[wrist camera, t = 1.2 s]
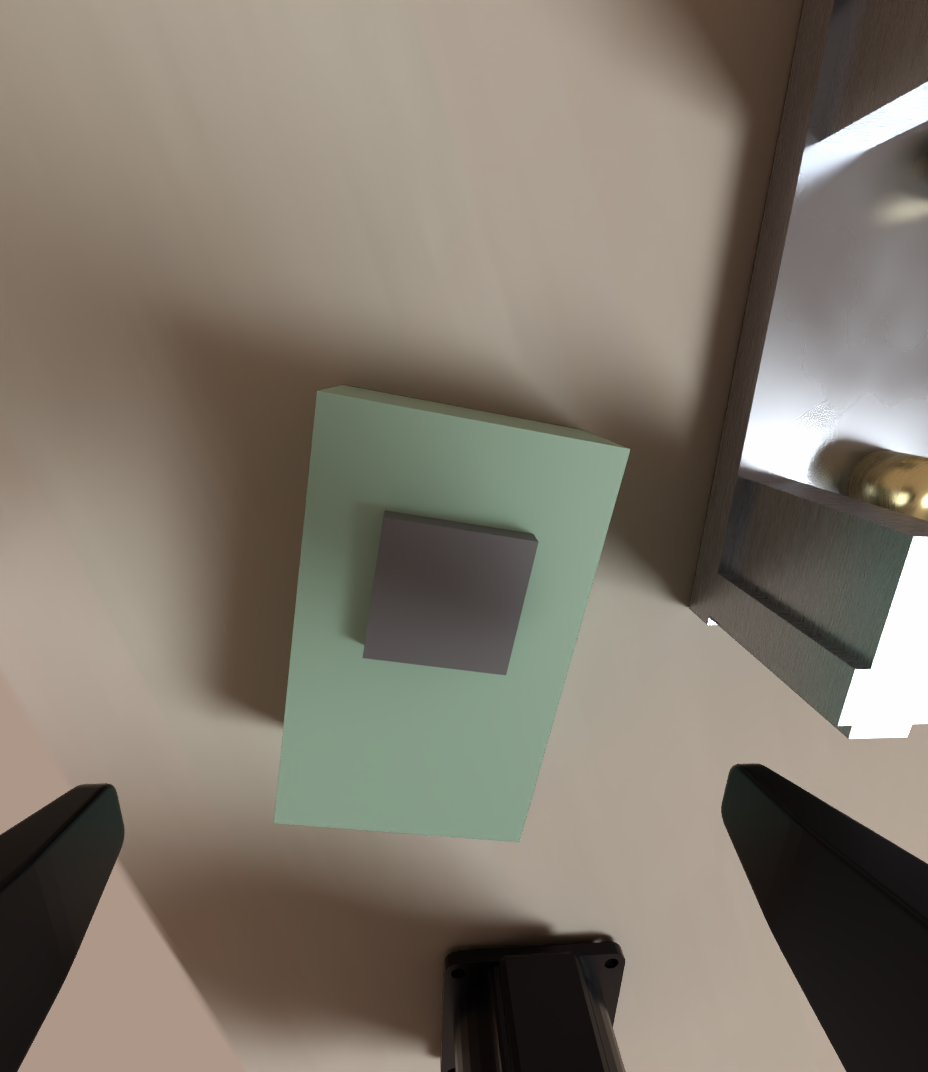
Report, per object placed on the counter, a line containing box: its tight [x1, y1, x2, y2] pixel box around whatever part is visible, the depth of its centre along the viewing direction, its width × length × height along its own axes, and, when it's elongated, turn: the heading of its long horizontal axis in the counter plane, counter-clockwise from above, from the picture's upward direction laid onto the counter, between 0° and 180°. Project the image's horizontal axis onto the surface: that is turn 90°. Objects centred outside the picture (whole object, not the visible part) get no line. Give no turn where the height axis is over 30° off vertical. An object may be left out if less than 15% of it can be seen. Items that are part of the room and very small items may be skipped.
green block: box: [274, 385, 630, 842], centre depth 13 cm, size 10×6×4 cm, turn 169°
